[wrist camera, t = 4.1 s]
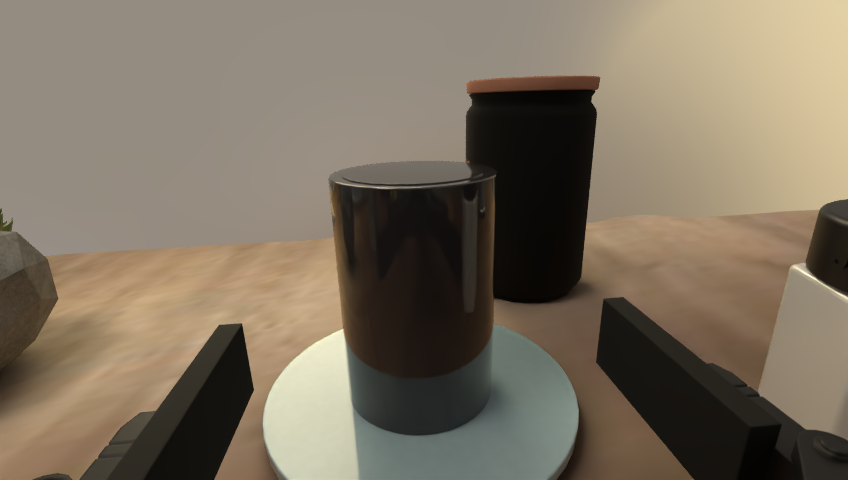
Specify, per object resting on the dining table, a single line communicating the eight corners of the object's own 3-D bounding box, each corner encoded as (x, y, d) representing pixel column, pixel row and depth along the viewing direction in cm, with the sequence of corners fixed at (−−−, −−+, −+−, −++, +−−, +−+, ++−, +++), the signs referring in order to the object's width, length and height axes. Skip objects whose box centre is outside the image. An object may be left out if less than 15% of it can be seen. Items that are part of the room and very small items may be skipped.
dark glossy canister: (475, 340, 28) (477, 157, 24) (509, 428, 21) (520, 181, 17) (353, 349, 27) (337, 163, 24) (343, 443, 20) (316, 190, 16)
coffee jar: (486, 255, 47) (489, 84, 42) (587, 269, 43) (606, 78, 37) (447, 292, 38) (445, 80, 33) (569, 315, 34) (592, 73, 28)
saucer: (519, 320, 33) (520, 305, 33) (649, 525, 17) (654, 501, 17) (298, 336, 32) (296, 320, 31) (212, 575, 16) (206, 549, 15)
